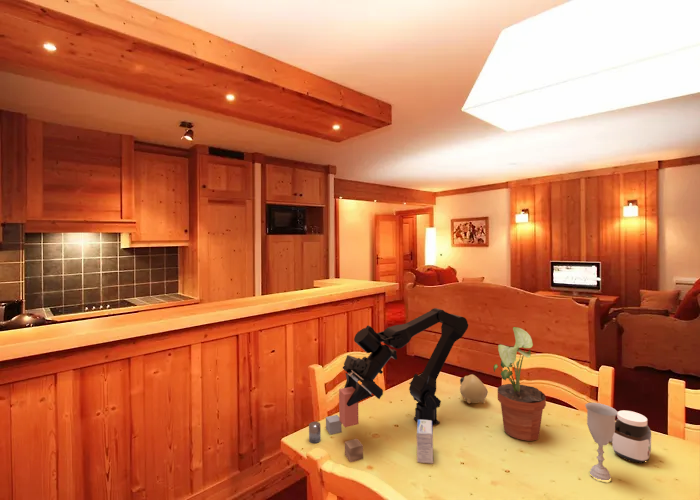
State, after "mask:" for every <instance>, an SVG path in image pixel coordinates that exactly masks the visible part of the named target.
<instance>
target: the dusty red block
mask: <svg viewBox="0 0 700 500" xmlns="http://www.w3.org/2000/svg"><path fill="white" fill-rule="evenodd" d="M354 391H355V389H354V388H353V387H348V388H344V387H343V388H339V389H338V400H339V401H338V407H339V408H338V410H339V411H338V412H339V414H338V415H339V421H340V422H341V423H342V425H343V427H344V428H348V427H353V426H357V425H359V422H360V421H359V402H357V403H355V404H353V405H351V406H348V405H347V402H348V400H349V399H350V397H351V396H352V394H353V393H354Z"/></svg>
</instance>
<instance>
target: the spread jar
mask: <svg viewBox="0 0 700 500" xmlns="http://www.w3.org/2000/svg"><path fill="white" fill-rule="evenodd" d="M617 412H618V414H617V415H616V417H617V419H615V433H614V435H613V437H612V439H611V440H610V441H609V443H612V450H613V451H614V453H615V454H616V455H618V456H619V457H620V456H621V457H620V458H621V459H623V458H625V459H627V460H626V461H628V460H630V461H629V462H631V461H633V462H632V463H634V462H639V463H638V464H643V463H642V462H645V461H647V460H648V461H649V459H650V456H651V451H652V431H651V428H650V427H649V425H648V418H647V417H646V416H645V415H643V414H641V413H638V412H635V411H632V410H624V409H623V410H619V411H617ZM625 459H624V460H625ZM648 461H647V462H648ZM645 463H646V462H645Z"/></svg>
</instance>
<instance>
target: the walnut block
mask: <svg viewBox="0 0 700 500" xmlns="http://www.w3.org/2000/svg"><path fill="white" fill-rule="evenodd" d="M344 456H345V457H346V458H347V460H348V461H349V462H350V463H354V462H356V461H360V460H364V445H363V444H362V442H361V441H360V440H359V439H358V438H354V439H350V440H345V441H344Z"/></svg>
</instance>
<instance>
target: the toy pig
mask: <svg viewBox="0 0 700 500" xmlns="http://www.w3.org/2000/svg"><path fill="white" fill-rule="evenodd" d="M459 383H460V387H459V391H460V392H459V393H460V394H461V396H462V398H463V400H464V402H466V403H467V404H471V403H473V404H477V403H481V404H485V403H486V399H487V397H488V396H487V395H488V393H489V391H488V389H487V386H486V385H485V384H484V382H482V381H481V379H480V378H479V377H477V376H476V375H475V374H473V373H472V374H469V375H465V376H464V377H463V376H462V377H461V378H460V380H459Z"/></svg>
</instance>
